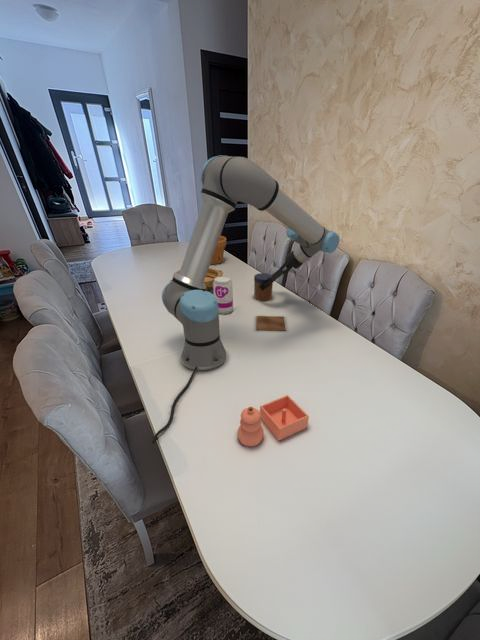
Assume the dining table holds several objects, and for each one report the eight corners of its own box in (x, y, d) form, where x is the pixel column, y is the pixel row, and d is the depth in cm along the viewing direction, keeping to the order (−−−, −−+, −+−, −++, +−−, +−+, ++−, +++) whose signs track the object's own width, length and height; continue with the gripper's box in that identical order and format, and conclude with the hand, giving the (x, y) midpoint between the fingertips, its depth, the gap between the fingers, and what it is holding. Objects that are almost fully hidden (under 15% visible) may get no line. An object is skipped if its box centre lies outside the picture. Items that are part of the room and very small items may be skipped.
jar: (272, 301, 150) (273, 280, 145) (254, 301, 150) (254, 280, 145) (271, 294, 158) (272, 274, 152) (254, 293, 158) (254, 274, 152)
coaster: (285, 330, 126) (285, 329, 125) (256, 330, 125) (256, 329, 125) (283, 317, 136) (283, 316, 135) (256, 317, 136) (256, 316, 135)
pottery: (286, 406, 88) (289, 379, 83) (307, 427, 82) (311, 399, 76) (230, 429, 80) (229, 401, 75) (248, 455, 74) (248, 426, 68)
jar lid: (273, 283, 145) (273, 279, 144) (254, 283, 145) (254, 279, 144) (272, 277, 153) (272, 273, 152) (254, 276, 153) (254, 273, 152)
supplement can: (230, 315, 136) (229, 283, 128) (212, 313, 138) (210, 281, 129) (235, 307, 143) (234, 276, 135) (218, 306, 144) (216, 275, 136)
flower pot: (187, 262, 200) (185, 238, 192) (210, 255, 214) (208, 233, 206) (212, 268, 190) (210, 244, 182) (233, 260, 205) (232, 237, 197)
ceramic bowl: (183, 303, 146) (181, 287, 142) (162, 287, 162) (160, 272, 158) (234, 289, 162) (234, 275, 158) (211, 276, 178) (210, 263, 173)
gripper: (295, 271, 128) (261, 299, 141) (310, 256, 147) (279, 281, 160) (284, 257, 127) (251, 286, 139) (300, 243, 146) (270, 270, 159)
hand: (266, 283), depth 150 cm, fingers open, 13 cm apart
